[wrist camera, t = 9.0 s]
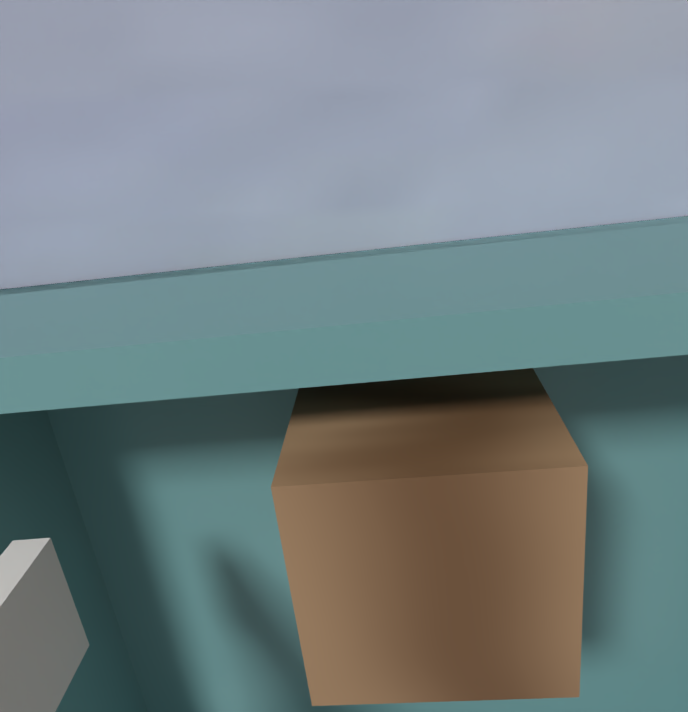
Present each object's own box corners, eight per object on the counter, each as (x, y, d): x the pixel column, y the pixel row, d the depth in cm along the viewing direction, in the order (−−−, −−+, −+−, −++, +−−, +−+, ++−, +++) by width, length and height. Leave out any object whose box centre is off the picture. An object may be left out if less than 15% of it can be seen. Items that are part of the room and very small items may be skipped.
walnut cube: (331, 536, 17) (312, 705, 12) (305, 365, 15) (271, 487, 10) (522, 525, 16) (579, 697, 11) (521, 346, 14) (587, 465, 10)
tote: (155, 783, 22) (94, 967, 17) (-18, 291, 15) (-194, 376, 10) (757, 768, 20) (871, 971, 15) (866, 197, 13) (1129, 249, 9)
